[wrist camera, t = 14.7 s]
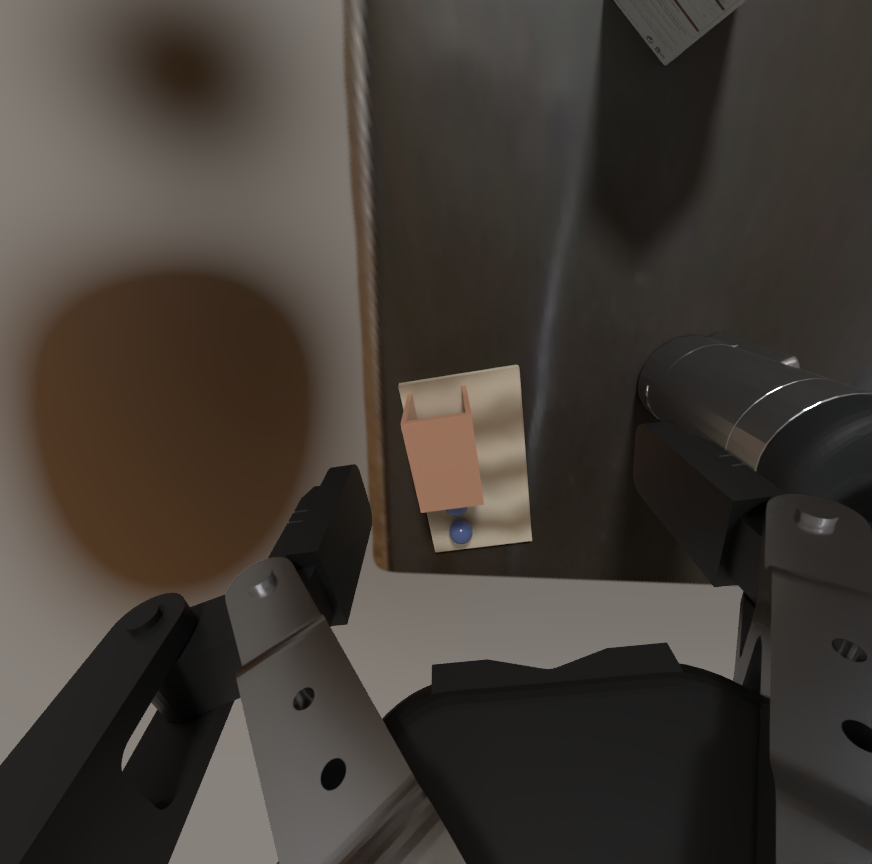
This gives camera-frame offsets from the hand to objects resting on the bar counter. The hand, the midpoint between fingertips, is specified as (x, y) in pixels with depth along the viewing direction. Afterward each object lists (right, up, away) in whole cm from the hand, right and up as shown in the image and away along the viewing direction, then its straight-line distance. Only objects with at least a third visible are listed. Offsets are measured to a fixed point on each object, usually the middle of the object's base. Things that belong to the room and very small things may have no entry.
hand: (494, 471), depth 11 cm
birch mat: (+3, -3, +35) cm, 35 cm away
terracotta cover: (-1, +1, +32) cm, 32 cm away
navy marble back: (+1, -11, +36) cm, 38 cm away
